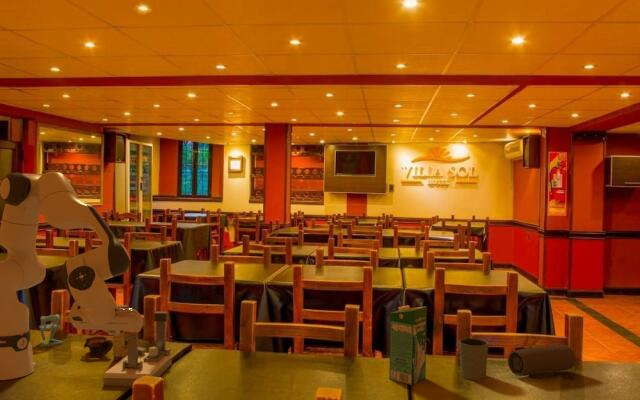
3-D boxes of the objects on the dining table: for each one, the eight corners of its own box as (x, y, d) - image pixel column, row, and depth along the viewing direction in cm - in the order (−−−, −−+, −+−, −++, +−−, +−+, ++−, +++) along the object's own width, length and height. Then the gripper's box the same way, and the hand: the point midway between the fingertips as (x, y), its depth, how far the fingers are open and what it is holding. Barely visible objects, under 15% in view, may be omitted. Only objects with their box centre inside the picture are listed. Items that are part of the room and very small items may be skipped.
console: (103, 385, 175) (103, 365, 174) (131, 363, 197) (131, 345, 196) (149, 386, 174) (149, 367, 174) (171, 364, 196) (171, 346, 196)
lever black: (153, 355, 192) (154, 313, 192) (156, 353, 195) (156, 311, 194) (166, 356, 192) (166, 313, 192) (168, 354, 194) (168, 311, 194)
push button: (147, 358, 187) (147, 349, 187) (150, 355, 190) (150, 346, 190) (156, 358, 187) (156, 349, 187) (159, 355, 190) (159, 346, 190)
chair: (57, 339, 226) (57, 310, 225) (62, 343, 219) (62, 314, 219) (36, 342, 221) (36, 313, 220) (41, 347, 214) (41, 317, 214)
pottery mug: (77, 360, 200) (78, 338, 204) (92, 364, 208) (93, 343, 212) (106, 354, 198) (107, 332, 202) (120, 358, 207) (121, 337, 211)
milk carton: (402, 372, 191) (403, 302, 190) (425, 378, 185) (427, 305, 184) (389, 379, 184) (390, 306, 183) (412, 385, 178) (413, 310, 177)
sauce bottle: (127, 362, 198) (127, 308, 197) (110, 361, 198) (110, 307, 197) (133, 356, 204) (134, 304, 204) (117, 356, 204) (117, 304, 204)
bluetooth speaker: (556, 367, 198) (556, 340, 198) (576, 375, 190) (577, 347, 189) (506, 374, 190) (506, 346, 190) (525, 383, 181) (525, 354, 181)
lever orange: (124, 369, 178) (124, 322, 178) (127, 366, 180) (127, 321, 180) (137, 369, 178) (137, 323, 177) (140, 367, 180) (140, 321, 180)
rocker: (130, 352, 192) (130, 348, 192) (133, 350, 195) (134, 345, 195) (141, 355, 192) (142, 350, 192) (145, 352, 195) (145, 348, 195)
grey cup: (467, 381, 182) (468, 346, 182) (452, 371, 192) (453, 338, 192) (493, 379, 185) (494, 344, 184) (477, 369, 195) (478, 336, 194)
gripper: (138, 300, 157) (151, 325, 167) (70, 298, 158) (86, 323, 168) (132, 319, 153) (145, 343, 163) (62, 317, 154) (79, 341, 164)
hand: (115, 333), depth 166 cm, fingers closed
